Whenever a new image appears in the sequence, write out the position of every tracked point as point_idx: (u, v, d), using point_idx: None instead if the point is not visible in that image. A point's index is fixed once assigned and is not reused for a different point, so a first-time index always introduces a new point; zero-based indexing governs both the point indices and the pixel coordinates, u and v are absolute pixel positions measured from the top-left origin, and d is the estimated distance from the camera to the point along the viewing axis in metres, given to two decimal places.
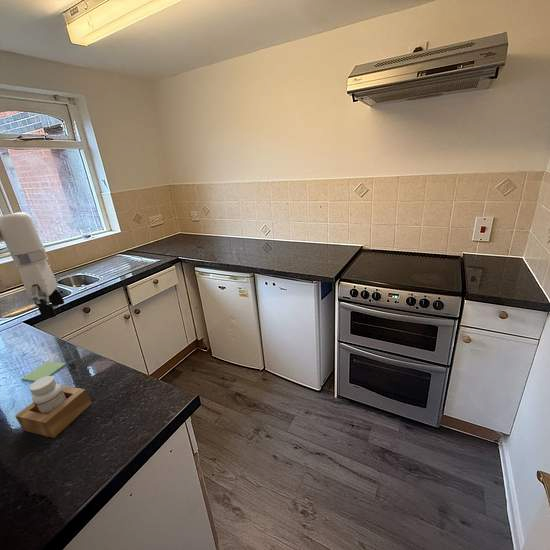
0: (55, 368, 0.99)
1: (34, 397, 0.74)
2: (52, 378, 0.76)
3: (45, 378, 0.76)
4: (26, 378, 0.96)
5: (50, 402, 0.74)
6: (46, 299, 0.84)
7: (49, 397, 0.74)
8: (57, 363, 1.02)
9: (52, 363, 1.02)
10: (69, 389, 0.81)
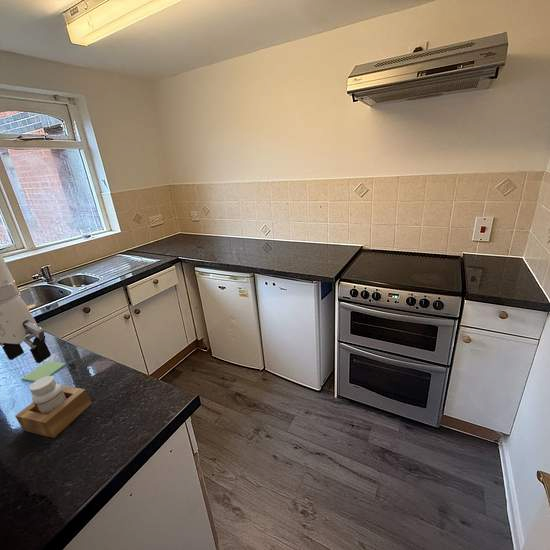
0: (55, 368, 0.99)
1: (34, 397, 0.74)
2: (52, 378, 0.76)
3: (45, 378, 0.76)
4: (26, 378, 0.96)
5: (50, 402, 0.74)
6: None
7: (49, 397, 0.74)
8: (57, 363, 1.02)
9: (52, 363, 1.02)
10: (69, 389, 0.81)
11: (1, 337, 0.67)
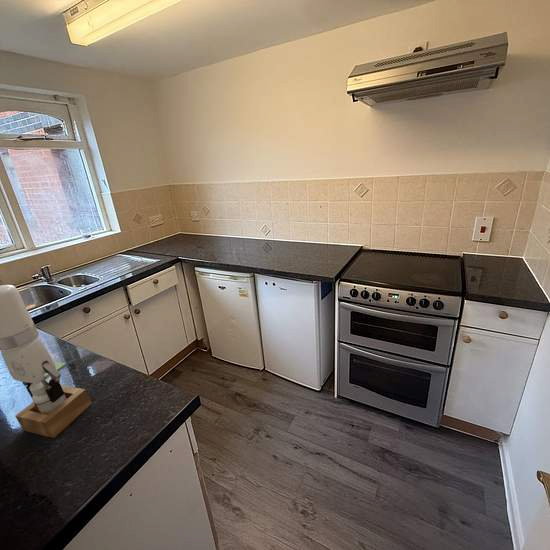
0: None
1: (34, 397, 0.74)
2: None
3: None
4: None
5: (50, 402, 0.74)
6: None
7: None
8: (57, 363, 1.02)
9: None
10: (69, 389, 0.81)
11: (21, 376, 0.71)
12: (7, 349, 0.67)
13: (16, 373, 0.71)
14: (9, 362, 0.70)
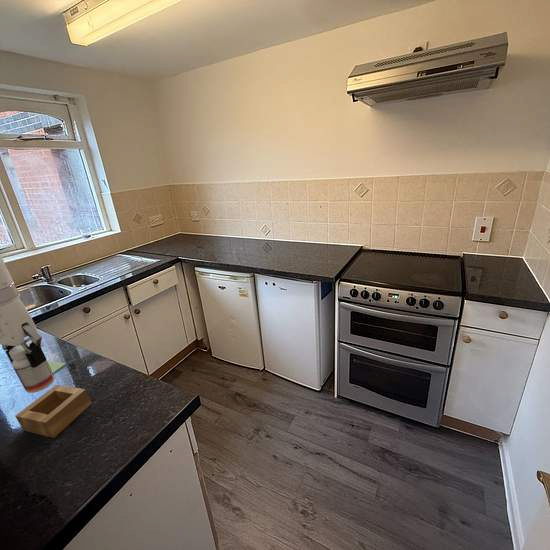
0: (55, 368, 0.99)
1: (14, 362, 0.70)
2: None
3: (26, 343, 0.73)
4: None
5: (31, 368, 0.71)
6: None
7: None
8: (57, 363, 1.02)
9: (52, 363, 1.02)
10: (69, 389, 0.81)
11: None
12: None
13: None
14: None
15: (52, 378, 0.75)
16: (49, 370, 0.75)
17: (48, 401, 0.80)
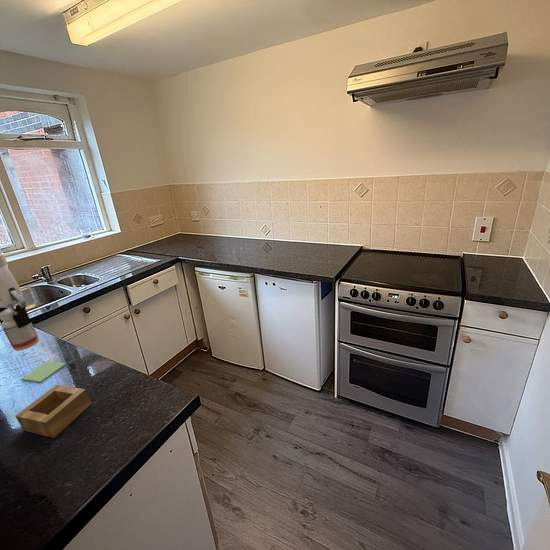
0: (55, 368, 0.99)
1: (3, 323, 0.81)
2: None
3: (14, 307, 0.84)
4: (26, 378, 0.96)
5: (18, 328, 0.82)
6: None
7: None
8: (57, 363, 1.02)
9: (52, 363, 1.02)
10: (69, 389, 0.81)
11: None
12: None
13: None
14: None
15: (37, 339, 0.86)
16: (34, 332, 0.86)
17: (48, 401, 0.80)
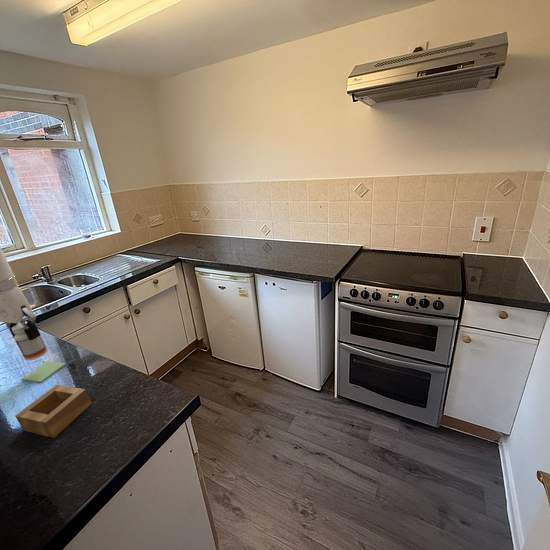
0: (55, 368, 0.99)
1: (15, 336, 0.92)
2: None
3: (25, 322, 0.94)
4: (26, 378, 0.96)
5: (29, 340, 0.92)
6: None
7: None
8: (57, 363, 1.02)
9: (52, 363, 1.02)
10: (69, 389, 0.81)
11: (4, 318, 0.89)
12: None
13: (0, 315, 0.89)
14: None
15: (45, 349, 0.97)
16: (43, 343, 0.96)
17: (48, 401, 0.80)
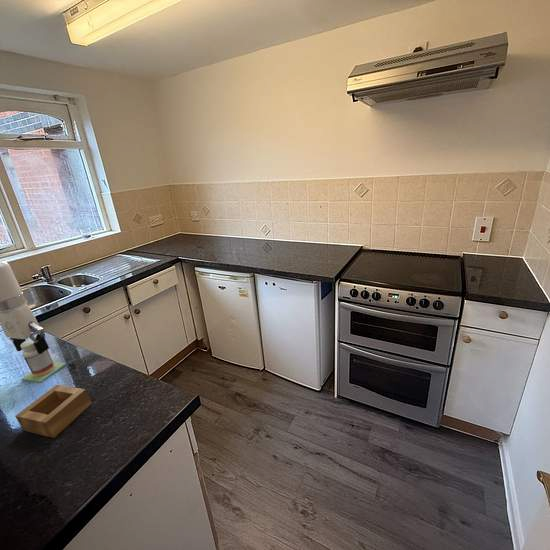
0: (55, 368, 0.99)
1: (24, 353, 0.94)
2: None
3: None
4: (26, 378, 0.96)
5: (37, 357, 0.94)
6: None
7: (36, 353, 0.94)
8: (57, 363, 1.02)
9: None
10: (69, 389, 0.81)
11: (12, 334, 0.91)
12: (1, 310, 0.87)
13: (8, 331, 0.91)
14: (3, 322, 0.90)
15: (53, 365, 0.99)
16: (50, 359, 0.98)
17: (48, 401, 0.80)
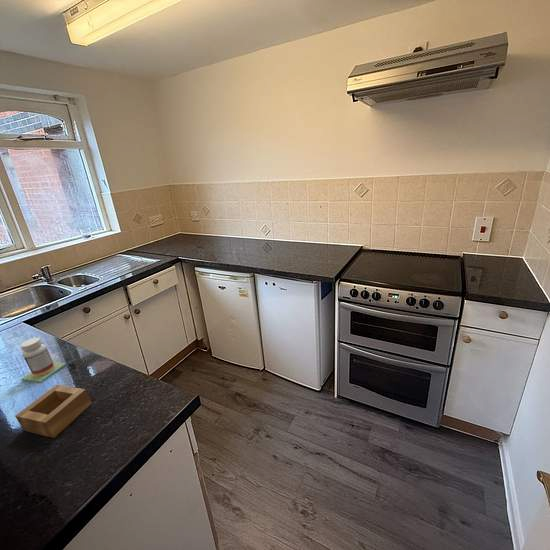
0: (55, 368, 0.99)
1: (24, 353, 0.94)
2: (38, 339, 0.96)
3: (33, 339, 0.96)
4: (26, 378, 0.96)
5: (37, 357, 0.94)
6: None
7: (36, 353, 0.94)
8: (57, 363, 1.02)
9: None
10: (69, 389, 0.81)
11: None
12: None
13: None
14: None
15: (53, 365, 0.99)
16: (50, 359, 0.98)
17: (48, 401, 0.80)
